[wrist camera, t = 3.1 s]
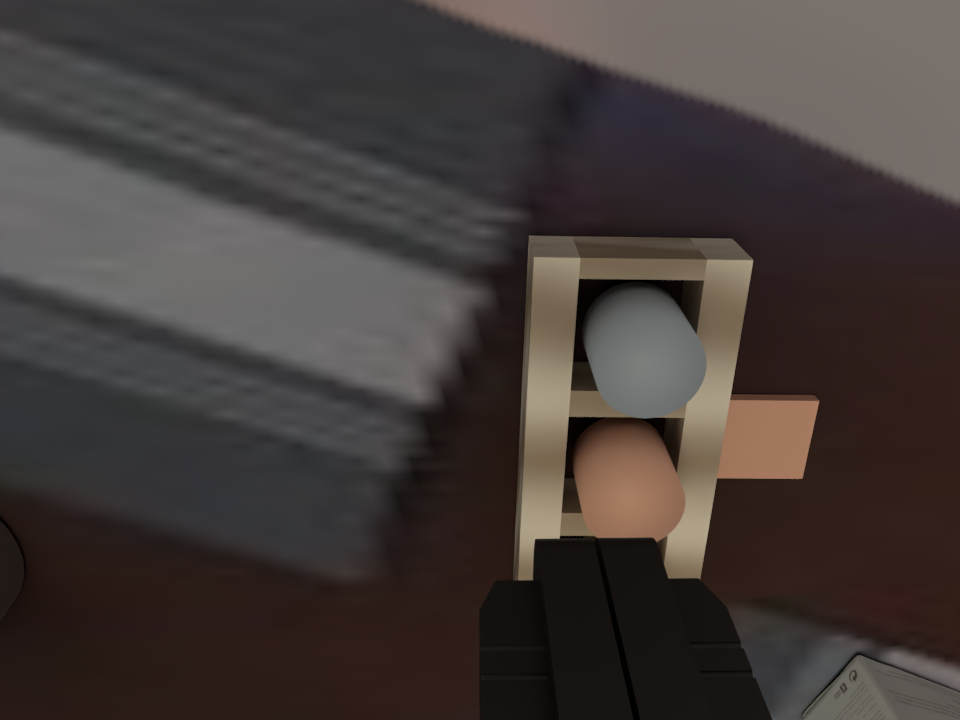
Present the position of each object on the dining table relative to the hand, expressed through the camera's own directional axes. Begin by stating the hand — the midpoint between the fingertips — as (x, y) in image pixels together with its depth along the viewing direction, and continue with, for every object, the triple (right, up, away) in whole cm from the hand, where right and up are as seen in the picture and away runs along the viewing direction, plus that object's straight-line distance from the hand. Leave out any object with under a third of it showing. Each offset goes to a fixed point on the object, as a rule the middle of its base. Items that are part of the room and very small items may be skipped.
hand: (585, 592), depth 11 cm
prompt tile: (+13, -1, +30) cm, 33 cm away
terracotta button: (+5, -2, +28) cm, 29 cm away
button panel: (+5, -1, +30) cm, 31 cm away
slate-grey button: (+5, +4, +26) cm, 27 cm away
